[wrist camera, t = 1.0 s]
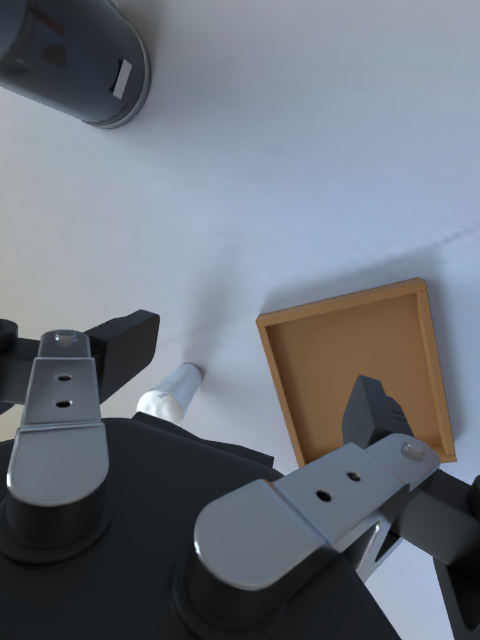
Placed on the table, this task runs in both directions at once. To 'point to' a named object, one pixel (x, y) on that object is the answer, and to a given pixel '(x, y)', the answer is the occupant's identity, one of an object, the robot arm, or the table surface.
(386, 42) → the table surface
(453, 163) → the table surface
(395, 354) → the tray
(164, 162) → the table surface
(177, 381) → the milkshake
